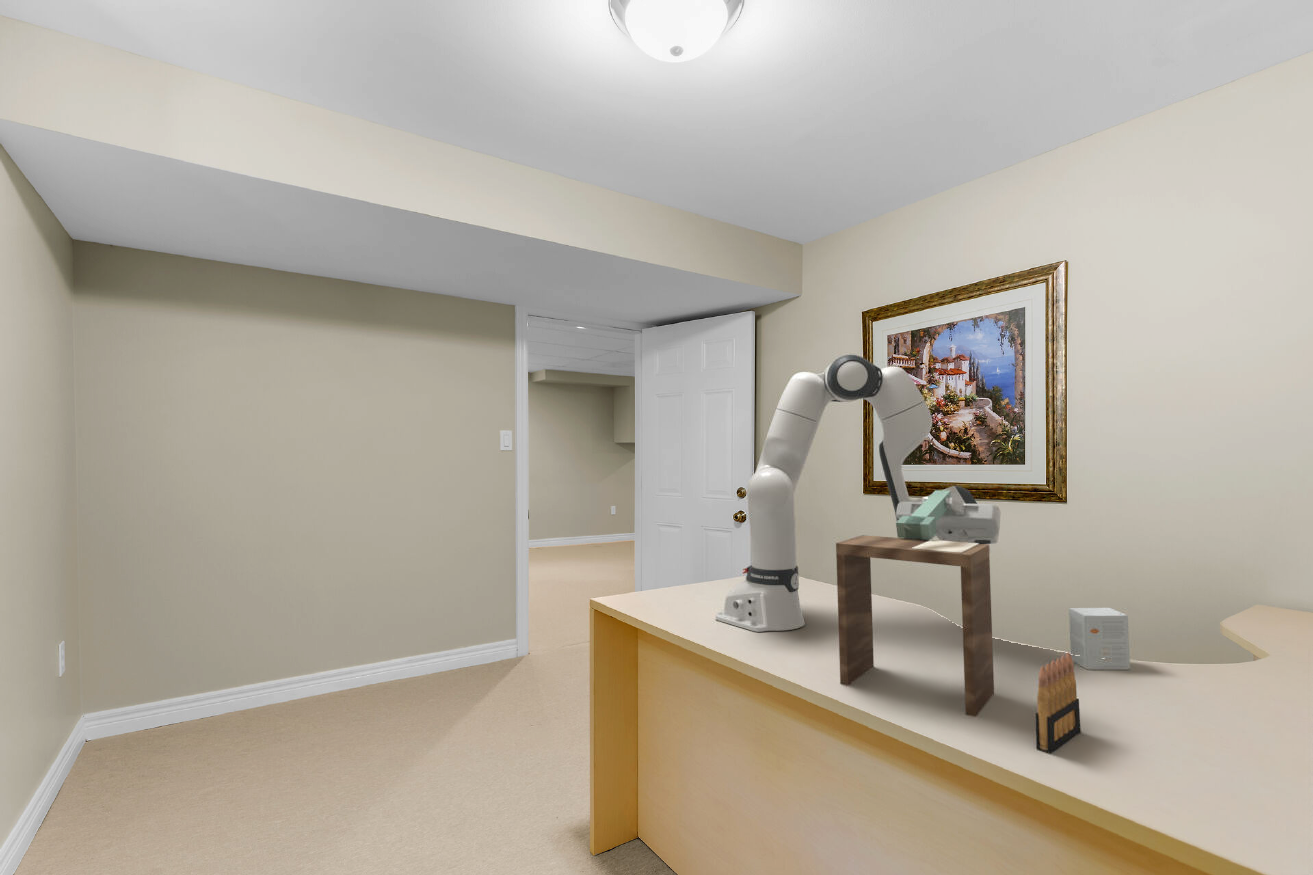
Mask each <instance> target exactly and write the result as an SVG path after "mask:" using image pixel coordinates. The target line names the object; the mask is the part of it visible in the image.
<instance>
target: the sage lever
mask: <svg viewBox="0 0 1313 875" xmlns="http://www.w3.org/2000/svg"><path fill="white" fill-rule="evenodd" d="M943 490H944V489H941V490H940V489H939V490H938V489H935V490H934V491H933V492H932V493H931V494H929V495H930V496H929V495H928V496H929V497H928V499H927V500H926V501H925V502H924V503H923V504H922V505H921V506H920V507H919V508H918V509H917V510H916V511H915V512H914V513H913V514H912V515H911V516H902V517H901V518H900V519H899V520H898V521H897V522H896V521H895V529H896V535H897V538H911V539H926V540H933V538H934V537H933V536H934V535H935V534H936V533H937V529H936V522H937V521H938V520H939V519H940V518H941V516H942V515H943V514H944V513H945V512H946V511H947V509H948V508H946V506H945V505H944V502H945V498H951V492H950V491H943ZM932 537H933V538H932Z"/></svg>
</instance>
